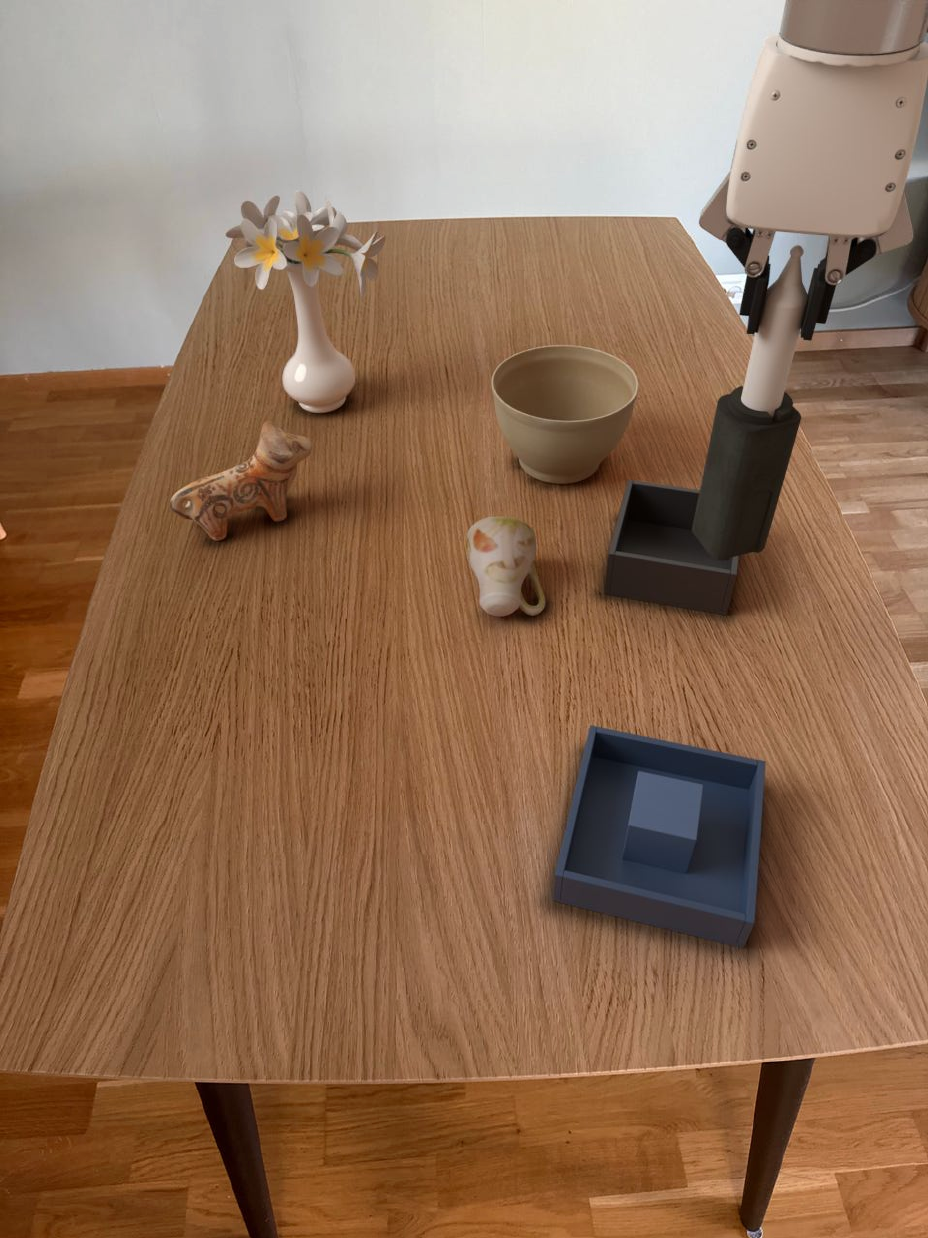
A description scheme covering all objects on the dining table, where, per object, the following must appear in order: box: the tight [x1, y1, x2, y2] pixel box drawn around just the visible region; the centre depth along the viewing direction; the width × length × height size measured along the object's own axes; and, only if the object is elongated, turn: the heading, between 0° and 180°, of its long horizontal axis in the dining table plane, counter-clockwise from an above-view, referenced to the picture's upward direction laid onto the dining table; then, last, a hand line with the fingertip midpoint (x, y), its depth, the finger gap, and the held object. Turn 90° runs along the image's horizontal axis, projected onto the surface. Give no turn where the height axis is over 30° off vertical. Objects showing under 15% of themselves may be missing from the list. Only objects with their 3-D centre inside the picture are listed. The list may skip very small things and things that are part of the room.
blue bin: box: [552, 724, 766, 949], centre depth 71 cm, size 14×14×4 cm
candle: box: [692, 244, 808, 560], centre depth 68 cm, size 5×5×25 cm
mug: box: [465, 515, 546, 618], centre depth 92 cm, size 8×10×10 cm
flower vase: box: [225, 189, 387, 414], centre depth 110 cm, size 13×18×25 cm
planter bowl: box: [490, 344, 640, 485], centre depth 104 cm, size 16×16×11 cm
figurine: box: [169, 419, 313, 542], centre depth 99 cm, size 7×16×10 cm, turn 117°
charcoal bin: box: [603, 479, 740, 616], centre depth 93 cm, size 12×12×6 cm
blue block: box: [622, 771, 703, 874], centre depth 71 cm, size 5×5×5 cm
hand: (779, 325), depth 63 cm, fingers closed on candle, 3 cm apart
